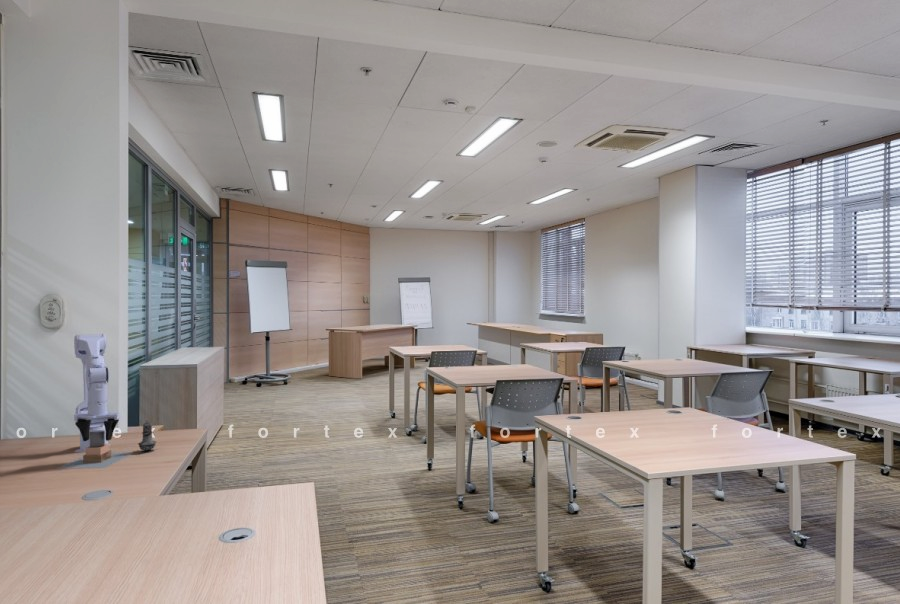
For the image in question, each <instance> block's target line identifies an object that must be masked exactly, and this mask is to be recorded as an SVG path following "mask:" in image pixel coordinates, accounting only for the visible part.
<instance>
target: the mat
mask: <svg viewBox="0 0 900 604" xmlns="http://www.w3.org/2000/svg"><path fill="white" fill-rule="evenodd" d="M133 454H135V452H133V451H130V452H129V451H128V452H126V451H124V452H123V451H122V452H111V458H109V459H107V460H105V461H103V462H99V463H83V456H80V457H79V458H76V459H74V460H72V461H70V462H67V463H66V464H63V465H61V466H59V467H57V468H55V469H56V470H57V469H58V470H61V469H62V470H63V469H65V470H66V469H67V470H69V469H102V468H103V469H106V468H108V467H111V466H112V465H113V464H115V463H117V462H120V461H121V460H123V459H125V458H127V457H128V456H131V455H133Z"/></svg>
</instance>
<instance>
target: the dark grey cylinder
mask: <svg viewBox="0 0 900 604" xmlns="http://www.w3.org/2000/svg"><path fill="white" fill-rule="evenodd" d="M104 445H105V431H104V430H98V431H92V432H90V448H96V447H102V446H104Z"/></svg>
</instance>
